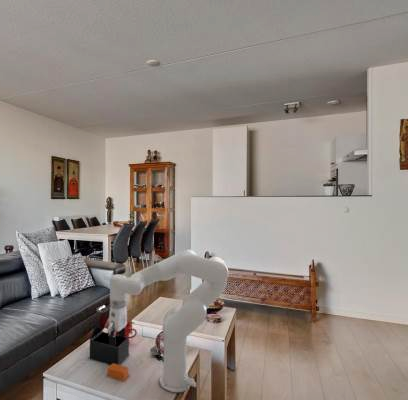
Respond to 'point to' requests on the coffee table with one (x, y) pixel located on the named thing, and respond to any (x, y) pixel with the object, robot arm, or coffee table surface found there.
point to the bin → (109, 349)
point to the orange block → (118, 371)
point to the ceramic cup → (127, 330)
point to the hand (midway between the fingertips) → (117, 340)
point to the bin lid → (100, 321)
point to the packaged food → (154, 351)
